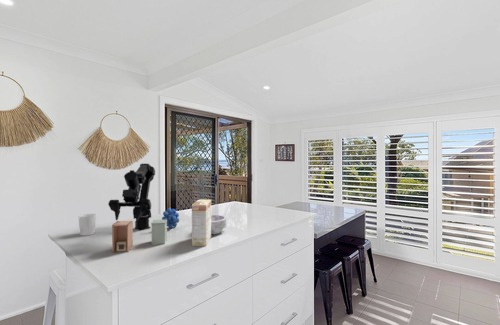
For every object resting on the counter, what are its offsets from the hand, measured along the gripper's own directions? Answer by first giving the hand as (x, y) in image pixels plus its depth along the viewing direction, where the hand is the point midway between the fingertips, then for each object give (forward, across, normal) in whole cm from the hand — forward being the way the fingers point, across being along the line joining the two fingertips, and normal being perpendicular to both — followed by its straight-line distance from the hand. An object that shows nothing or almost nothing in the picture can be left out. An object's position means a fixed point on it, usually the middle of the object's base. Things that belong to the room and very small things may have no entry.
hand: (126, 219), depth 124 cm
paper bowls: (-3, +40, +20) cm, 45 cm away
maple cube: (+13, 0, +5) cm, 13 cm away
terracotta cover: (+12, 0, +4) cm, 13 cm away
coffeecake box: (+8, +35, +10) cm, 37 cm away
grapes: (-10, +17, +27) cm, 33 cm away
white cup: (-7, -26, +24) cm, 36 cm away
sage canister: (+7, +14, +10) cm, 19 cm away
